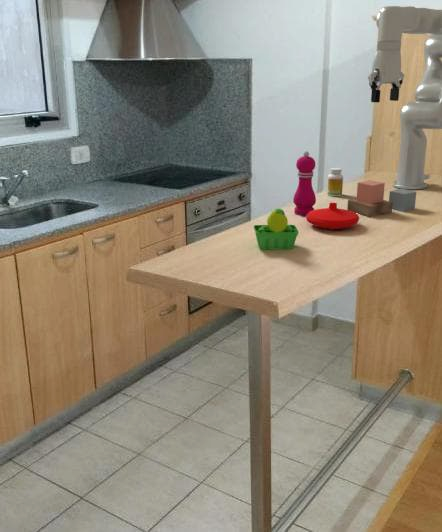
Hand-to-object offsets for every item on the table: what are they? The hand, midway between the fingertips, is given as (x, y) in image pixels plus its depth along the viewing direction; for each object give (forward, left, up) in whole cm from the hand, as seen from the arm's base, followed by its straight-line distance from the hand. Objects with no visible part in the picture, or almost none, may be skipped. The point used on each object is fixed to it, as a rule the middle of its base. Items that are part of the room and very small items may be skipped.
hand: (384, 101), depth 202 cm
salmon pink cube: (+17, +11, -30) cm, 36 cm away
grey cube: (+6, +15, -33) cm, 37 cm away
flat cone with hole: (+39, +15, -34) cm, 54 cm away
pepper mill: (+35, -1, -34) cm, 48 cm away
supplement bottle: (+8, -13, -34) cm, 37 cm away
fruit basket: (+66, +20, -34) cm, 77 cm away
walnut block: (+17, +11, -34) cm, 39 cm away
